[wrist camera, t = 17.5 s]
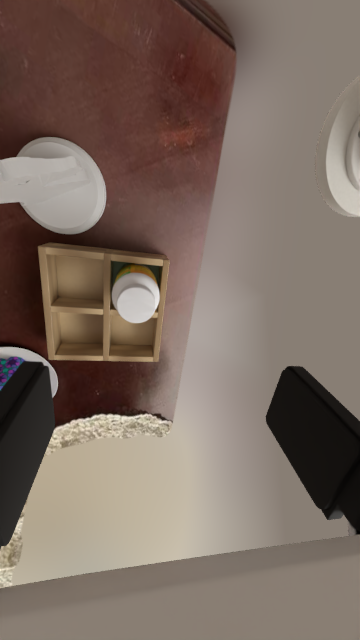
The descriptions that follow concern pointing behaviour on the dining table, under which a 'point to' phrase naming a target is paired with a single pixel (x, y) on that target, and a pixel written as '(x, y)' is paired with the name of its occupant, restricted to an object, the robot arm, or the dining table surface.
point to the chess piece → (55, 185)
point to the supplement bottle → (135, 293)
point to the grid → (96, 304)
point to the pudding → (8, 359)
